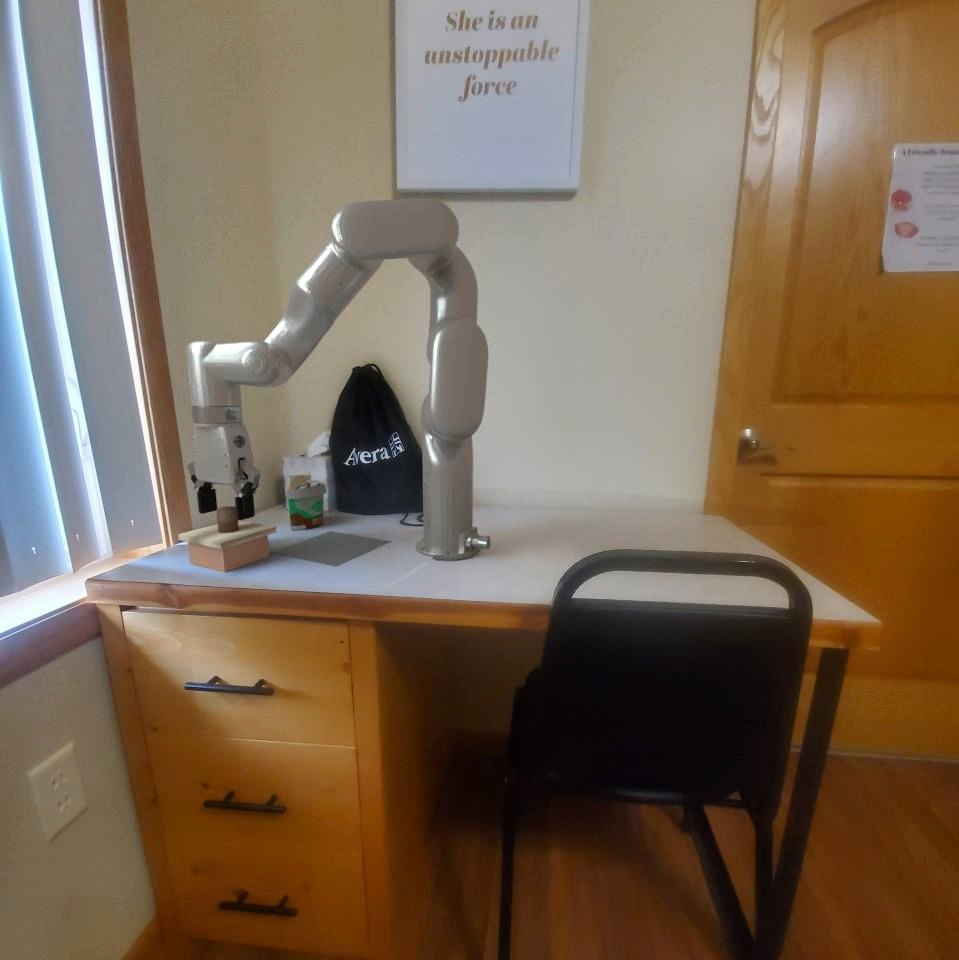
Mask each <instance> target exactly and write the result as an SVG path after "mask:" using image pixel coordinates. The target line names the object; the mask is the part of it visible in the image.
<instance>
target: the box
mask: <svg viewBox="0 0 959 960" xmlns="http://www.w3.org/2000/svg"><path fill="white" fill-rule="evenodd" d="M286 480H287V481H286V482H287V483H286V484H287V489H296V488H297V487H298V486H303V485H305V484H307V480H312V475H311V473H310V472H309V471H296V472H295V471H294V472H286ZM287 509H288V510H287V512H288V513H287V514H288V518H289V519H290V513H289V504H288V503H287Z"/></svg>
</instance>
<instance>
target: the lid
mask: <svg viewBox="0 0 959 960" xmlns="http://www.w3.org/2000/svg"><path fill="white" fill-rule="evenodd" d="M216 520H217V522H216V524H212V525H208V526H205V527H201V528H197V529H194V530H189V531H186V532H182V533H181V532H180V533H178V535H177V537H178V541H182V542H187V543H188V542H191V543H195V544H200V545H204V546H209V547H213V548H218V549H224V548H227V547H231V546H234V545H237V544H240V543H243V542H247V541H250V540H253V539H256V538H260V537H263V536H266V535H268V536H269V535H271V534H274V533H277V526H274V525H273V526H272V525H268V524H262V523H256V522H251V521H246V520H237V518H236V507H235V506H234V505H233V506H230V505H229V506H228V505H227V506H221V507H217V509H216Z"/></svg>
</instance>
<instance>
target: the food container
mask: <svg viewBox="0 0 959 960" xmlns="http://www.w3.org/2000/svg"><path fill="white" fill-rule="evenodd" d="M326 493H328V492H327V486H326V484H325V483H324V481H322V480H317V479H311V480H307V484H305V485H303V486H298V487H297V488H296V489H288V488H286V499H287V505H288V504H289V513H290V518H289V520H290V530H291V531H292V532H293V531H295V532H296V531H307V530H313V529H316V528H319V527H321V526H323V524H324V506H325V505H324V501H325V499H324V498H325V497H324V496H325V494H326Z"/></svg>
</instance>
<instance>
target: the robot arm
mask: <svg viewBox="0 0 959 960" xmlns="http://www.w3.org/2000/svg"><path fill="white" fill-rule="evenodd" d="M330 226H331V227H330V231H331V233H330V234H331V237H330V239H329V240H328V241H327V242H326V243H325V245H324V246H323V247H322V248H321V250H320V251H318V253H317V255H316V256H315V257H314V258H313V259H312V261H311V262H310V263H309V264H308V266H307V267H306V268H305V269H304V270H303V271H302V272H301V273H300V274H299V276H298V277H297V278H296V279H295V281H294V283H293V285H292V287H291V289H290V293H289V298H288V303H287V307H286V309H285V311H284V314H283V315H282V317H281V318H280V320H279V322H278V323H277V324H276V326H275V327H274V328H273V330H272V331H271V332H270V333H269V334H268V336H267V337H266V338H265V339H264V340H257V339H255V340H254V339H251V340H243V341H241V340H240V341H231V342H226V341H218V340H217V341H216V340H194V341H192V342H191V341H190V342H189V343H188V345H187V346H186V349H185V351H186V352H185V353H186V363H187V374H188V375H187V376H188V383H189V393H190V394H189V395H190V404H191V414H192V417H191V418H192V424H193V432H192V461H191V462H190V463H188V464H187V465H186V466H187V470H188V473H189V475H190V480H191V482H192V483H193V484H194V486H193V489H194V491H195V492H196V498H197V505H198V506H197V507H198V513H199V514H202V515H203V514H207V513H211V512H215V511H216V509H217V508H218V501H217V490H216V488H214V486H215V484H216V485H217V484H218V485H224V486H231V487H232V489H233V490H234V492H235V494H236V496H235V497H234V504H235V506H234V507H236V518H237V520H240V521H245V520H247V519H251V518H254V517H255V515H256V513H255V512H256V511H255V499H254V496H255V495H256V493H257V489H258V488H259V486H260V485H259V482H260V479H261V476H262V473H261V470H259V469H258V467H257V468H256V466H255V465H254V464H255V462H254V454H253V449H252V444H251V443H252V442H251V438H250V435H249V432H248V429H247V426H246V425H245V424H244V416H243V406H242V405H243V403H242V390H241V385H243V386H250V387H257V388H277V387H280V386H282V385H284V384H286V382H288V381H289V380H291V378H292V377H293V376H294V375H295V373H296V372H297V371H298V370H299V369H300V368H301V366H302V365H303V364H304V363H305V362H306V360H307V359H308V358H309V357H310V355H311V354H312V353H313V352H314V350H315V349H316V348H317V346H318V345H319V343H320V342H321V340H322V339H323V338H324V336H325V335H326V334H327V333H328V332H329V331H330V330H331V328H332V327H333V325H334V323H335V322H336V321H337V319H338V318H339V317H340V315H342V313H343V311H344V310H346V308H347V307H348V306H349V305H350V303H351V302H352V300H354V298H356V296H357V295H358V294H359V292H360V291H361V290H362V289H363V288H364V287H365V286H366V284H367V283H368V282H369V281H370V280H371V278H372V277H373V276H374V275H375V274H376V272H378V270H379V268H380V267H381V266H382V265H383V263H384V261H385V260H396V259H397V260H398V259H400V260H401V259H407V261H408V262H409V263H410V264H411V266H413V268H415V269H416V270H417V271H418V272H420V273H421V275H423V276H424V278H425V280H426V281H427V283H428V285H429V290H430V293H429V294H430V295H429V296H430V298H429V299H430V300H429V303H430V304H429V307H430V308H429V325H428V338H427V342H426V357H427V360H428V364H429V383H428V384H429V385H428V393H427V394H426V396H425V397H424V399H423V401H422V404H421V409H420V429H421V443H422V444H421V447H422V449H421V451H422V506H423V508H422V509H423V510H422V511H423V513H422V516H423V517H422V519H423V522H422V523H423V527H422V528H423V538H422V539H420V540H418V541H417V542H416V543H415V552H417V553H418V554H420V555H422V556H425V557H430V558H431V559H432V560H440V561H451V560H452V561H455V560H462V559H467V558H471V557H473V556H475V555H477V554H479V552H480V551H481V549H482V550H489V549H490V548H491V539H490V536H488V535H480V534H479V533H478V527H477V526H473V523H474V522H473V517H474V515H473V511H474V510H473V509H474V508H473V500H474V498H473V497H474V496H473V492H474V490H473V488H474V484H473V483H474V480H473V479H474V449H473V448H474V445H473V435H475V433H476V432H477V431H478V429H480V426H481V425H482V422H483V417H484V413H485V406H486V405H485V404H486V392H487V381H488V366H489V346H488V339H487V337H486V335H485V333H484V331H483V329H482V328H481V327H480V325H478V303H479V302H478V301H479V300H478V299H479V297H478V291H479V289H478V282H477V281H478V280H477V277H476V273H475V270H474V269H473V265H472V264H471V262H470V261H469V259H468V257H467V256H466V255H465V253H464V252H463V251H462V249H460V248H459V247H458V246H457V243H458V241H459V237H460V236H459V234H460V227H459V221H458V218H457V216H456V213H454V211H453V210H452V209H451V208H450V206H449V205H447V204H446V203H444V202H442V201H440V200H438V199H434V198H433V199H432V198H429V197H428V198H426V197H421V198H420V197H419V198H417V197H416V198H403V199H401V198H400V199H399V198H398V199H381V200H380V199H379V200H364V201H363V200H362V201H357V202H353V203H349V204H347V205H344V206H342V207H340V209H339V210H337V212H336V213H335V214H334V215H333V218H332V221H331V225H330ZM241 485H243V487H242V486H241ZM216 512H217V511H216Z"/></svg>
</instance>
